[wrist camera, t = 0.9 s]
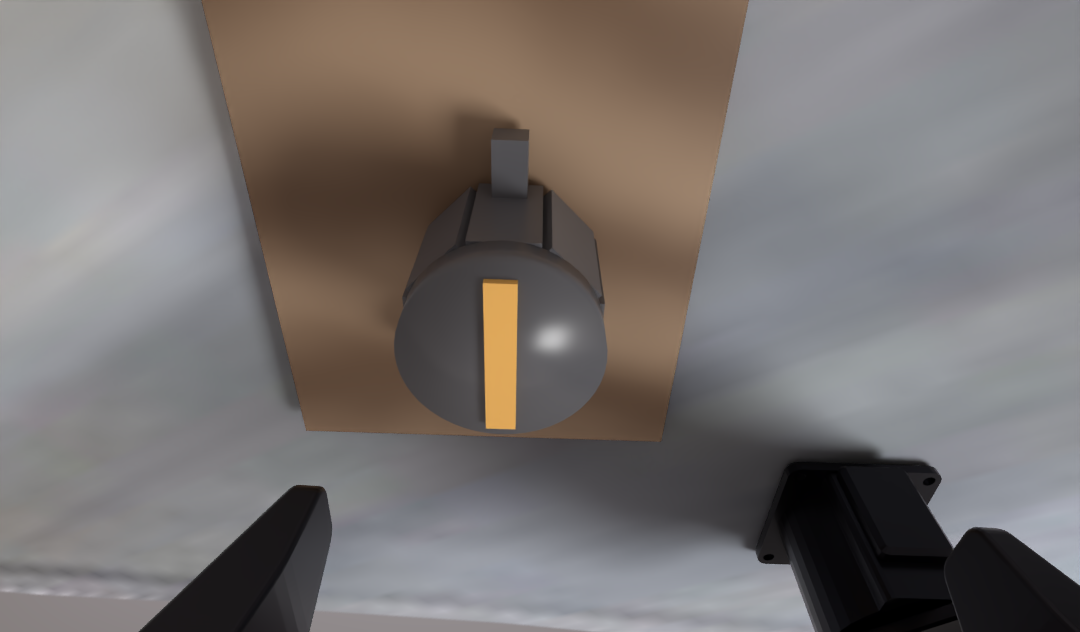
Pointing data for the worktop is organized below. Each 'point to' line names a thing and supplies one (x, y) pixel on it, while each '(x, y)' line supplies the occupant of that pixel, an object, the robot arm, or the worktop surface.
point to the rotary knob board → (473, 172)
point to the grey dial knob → (504, 305)
